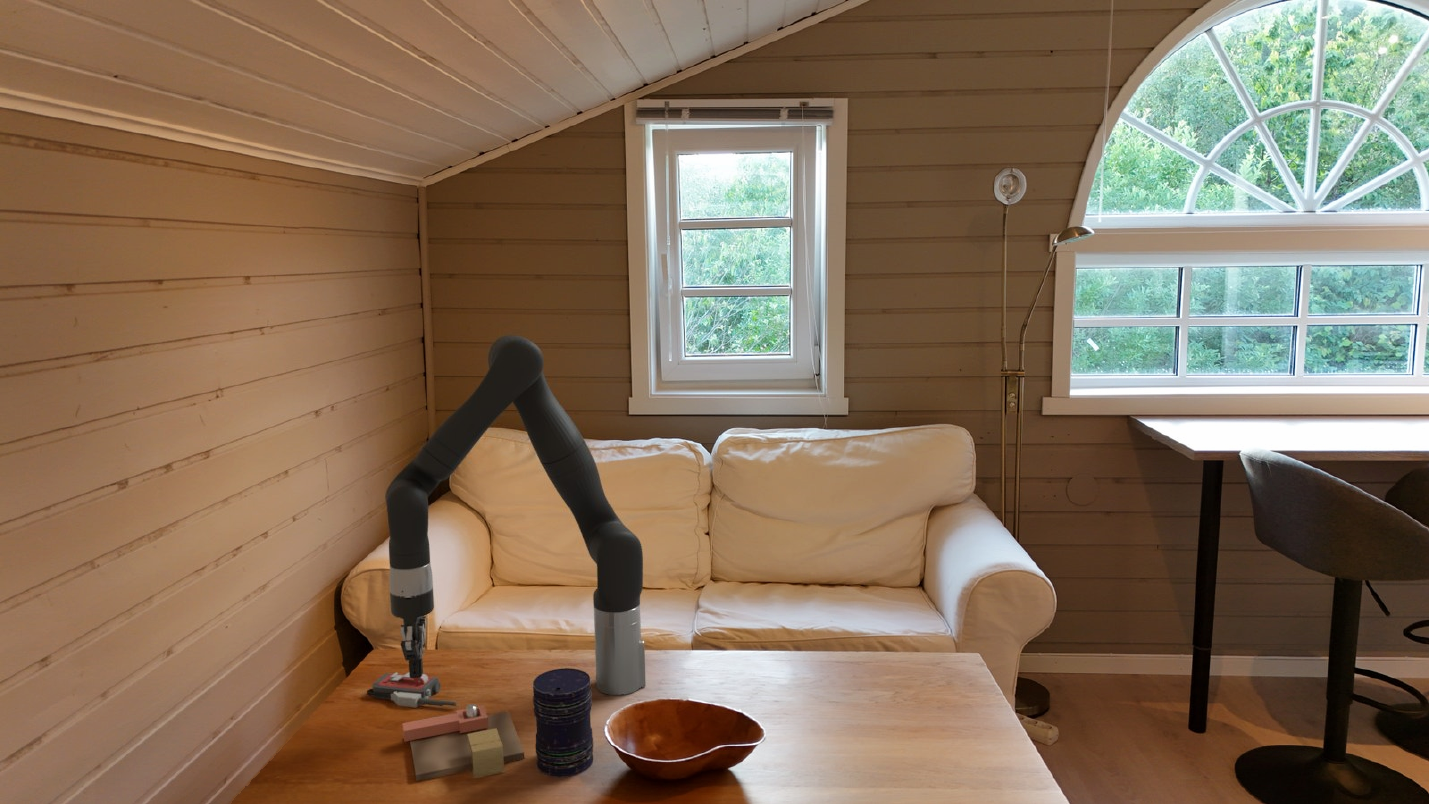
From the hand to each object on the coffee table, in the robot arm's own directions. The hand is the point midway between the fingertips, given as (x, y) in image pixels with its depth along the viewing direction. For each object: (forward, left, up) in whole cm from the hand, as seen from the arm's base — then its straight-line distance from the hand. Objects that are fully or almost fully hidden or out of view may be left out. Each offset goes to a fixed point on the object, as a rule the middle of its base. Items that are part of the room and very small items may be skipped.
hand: (416, 676), depth 176 cm
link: (-4, +7, -8) cm, 11 cm away
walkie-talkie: (-1, -11, -10) cm, 15 cm away
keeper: (-9, +20, -9) cm, 24 cm away
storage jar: (-22, +24, -10) cm, 34 cm away
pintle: (-9, +7, -10) cm, 15 cm away
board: (-7, +12, -10) cm, 17 cm away
